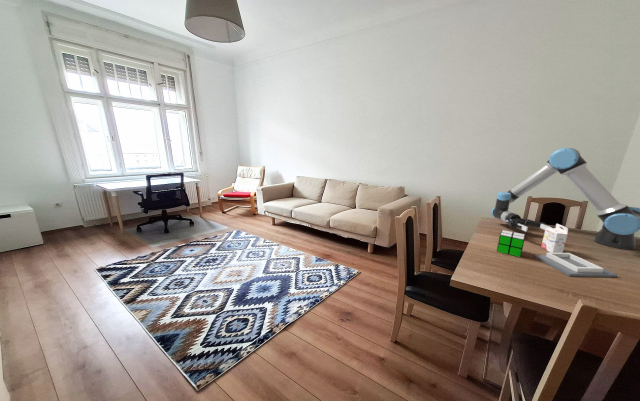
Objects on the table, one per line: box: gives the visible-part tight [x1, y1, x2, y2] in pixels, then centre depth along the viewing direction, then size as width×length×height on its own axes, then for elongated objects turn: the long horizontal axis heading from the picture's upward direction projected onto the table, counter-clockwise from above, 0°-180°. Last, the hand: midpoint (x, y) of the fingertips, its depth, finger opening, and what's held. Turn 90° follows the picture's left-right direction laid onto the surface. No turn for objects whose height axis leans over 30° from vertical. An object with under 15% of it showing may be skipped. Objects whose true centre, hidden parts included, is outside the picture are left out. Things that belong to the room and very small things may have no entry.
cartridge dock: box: [533, 252, 618, 278], centre depth 109 cm, size 20×18×3 cm
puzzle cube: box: [496, 229, 526, 258], centre depth 123 cm, size 10×10×10 cm
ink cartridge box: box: [540, 223, 569, 253], centre depth 123 cm, size 9×5×15 cm, turn 168°
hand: (539, 229), depth 133 cm, fingers open, 13 cm apart
